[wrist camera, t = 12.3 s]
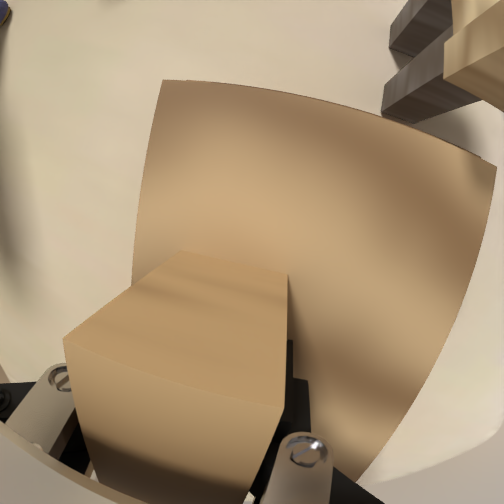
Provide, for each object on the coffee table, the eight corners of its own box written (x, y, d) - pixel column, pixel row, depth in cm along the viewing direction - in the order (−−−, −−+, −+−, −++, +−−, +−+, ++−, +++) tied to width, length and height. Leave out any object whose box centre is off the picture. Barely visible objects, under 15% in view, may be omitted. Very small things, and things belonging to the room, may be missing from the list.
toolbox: (336, 392, 22) (349, 489, 12) (188, 360, 22) (141, 449, 13) (425, 39, 14) (492, -22, 5) (257, -3, 15) (233, -94, 6)
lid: (340, 469, 14) (348, 578, 6) (149, 431, 15) (95, 533, 7) (467, 166, 10) (624, 176, 2) (183, 95, 11) (40, 3, 3)
